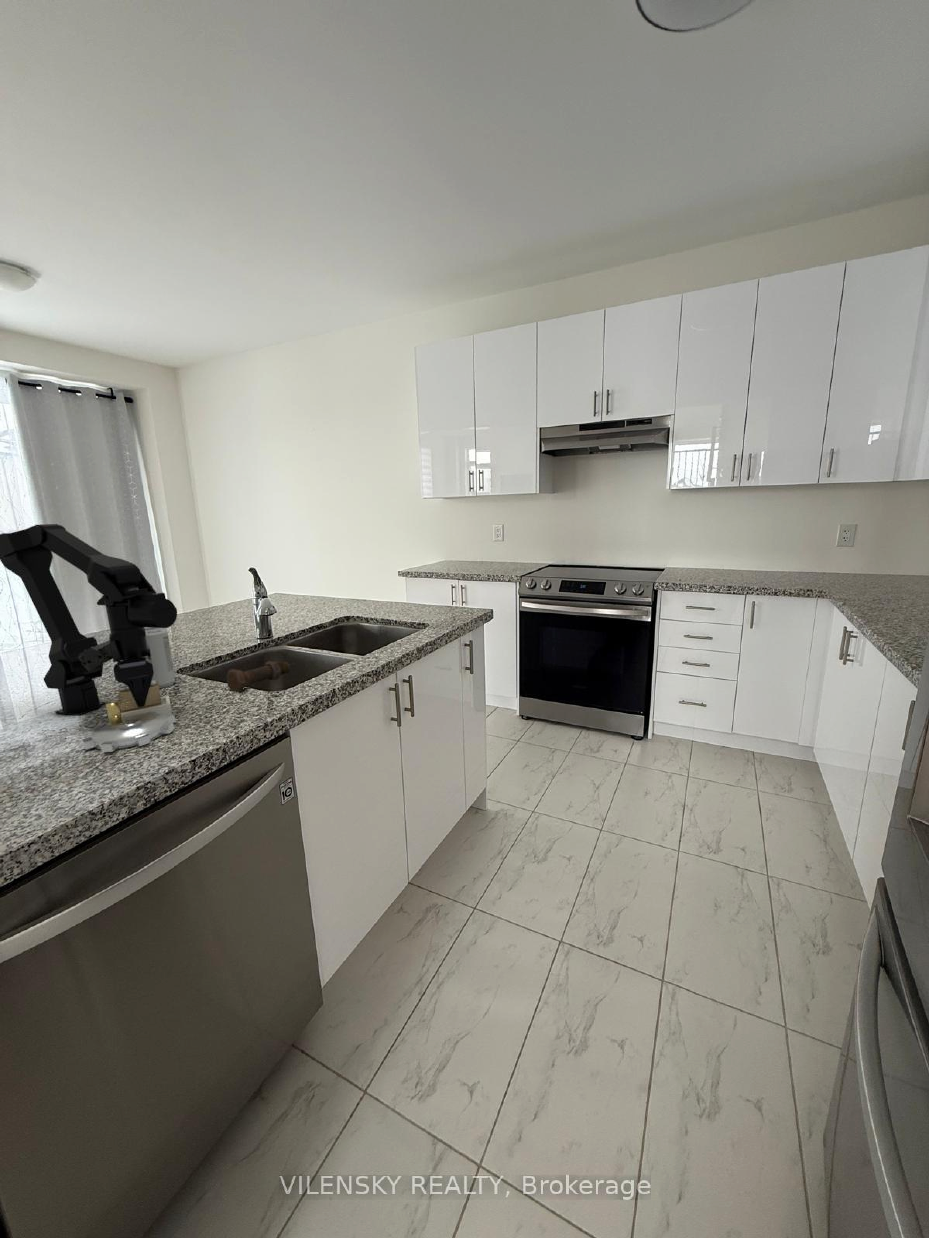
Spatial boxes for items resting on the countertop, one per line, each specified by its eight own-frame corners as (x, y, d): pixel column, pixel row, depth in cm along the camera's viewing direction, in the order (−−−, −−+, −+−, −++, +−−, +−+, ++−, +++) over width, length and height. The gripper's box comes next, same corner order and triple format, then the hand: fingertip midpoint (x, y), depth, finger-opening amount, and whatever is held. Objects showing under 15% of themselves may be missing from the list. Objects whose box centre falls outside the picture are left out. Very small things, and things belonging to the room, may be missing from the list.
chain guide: (114, 726, 99) (112, 715, 98) (114, 716, 104) (113, 706, 103) (172, 713, 104) (170, 703, 104) (170, 705, 109) (168, 695, 109)
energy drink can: (149, 684, 124) (138, 625, 121) (176, 679, 127) (166, 622, 124) (146, 691, 119) (135, 630, 116) (175, 686, 121) (165, 626, 118)
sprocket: (114, 759, 84) (107, 727, 83) (66, 744, 91) (60, 714, 89) (192, 725, 97) (188, 697, 96) (146, 714, 103) (141, 688, 102)
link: (122, 719, 100) (117, 689, 99) (122, 713, 103) (117, 685, 102) (163, 710, 104) (157, 682, 103) (161, 705, 107) (157, 677, 106)
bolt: (290, 681, 128) (236, 698, 116) (278, 669, 130) (224, 684, 118) (296, 663, 126) (241, 679, 114) (284, 651, 128) (229, 665, 115)
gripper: (80, 625, 103) (95, 696, 107) (72, 642, 88) (90, 724, 91) (144, 617, 109) (156, 684, 112) (146, 632, 94) (160, 709, 97)
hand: (140, 699), depth 103 cm, fingers open, 9 cm apart
